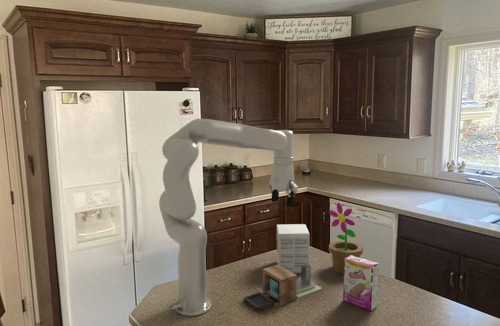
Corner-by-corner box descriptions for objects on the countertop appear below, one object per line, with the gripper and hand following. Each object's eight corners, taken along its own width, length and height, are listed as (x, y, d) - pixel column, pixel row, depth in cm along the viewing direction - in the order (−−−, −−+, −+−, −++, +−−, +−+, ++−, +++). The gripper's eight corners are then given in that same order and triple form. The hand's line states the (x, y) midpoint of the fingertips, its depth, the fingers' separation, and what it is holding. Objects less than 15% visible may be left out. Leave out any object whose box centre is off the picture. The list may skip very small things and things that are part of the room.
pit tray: (257, 311, 139) (257, 307, 138) (243, 301, 146) (243, 297, 146) (273, 305, 142) (273, 301, 142) (259, 295, 150) (259, 292, 150)
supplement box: (276, 261, 182) (276, 224, 180) (305, 260, 182) (305, 223, 179) (278, 273, 169) (278, 233, 166) (309, 273, 169) (310, 233, 166)
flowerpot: (321, 269, 172) (322, 201, 168) (339, 260, 182) (340, 195, 178) (351, 279, 162) (353, 207, 158) (368, 268, 173) (370, 200, 168)
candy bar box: (342, 301, 145) (343, 258, 142) (349, 296, 148) (350, 254, 146) (371, 312, 137) (372, 266, 135) (377, 306, 141) (379, 262, 138)
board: (298, 297, 148) (298, 296, 148) (281, 287, 156) (281, 286, 156) (322, 289, 154) (322, 288, 154) (305, 279, 163) (305, 278, 163)
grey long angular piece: (276, 300, 145) (276, 279, 144) (267, 293, 150) (266, 273, 149) (315, 286, 155) (316, 266, 154) (305, 280, 160) (305, 261, 159)
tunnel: (281, 305, 143) (281, 279, 141) (263, 292, 152) (262, 268, 151) (296, 299, 147) (296, 274, 145) (277, 287, 156) (277, 264, 154)
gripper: (262, 159, 163) (262, 200, 165) (289, 164, 148) (288, 209, 151) (277, 158, 167) (276, 198, 169) (304, 163, 153) (303, 207, 155)
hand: (282, 203), depth 160 cm, fingers open, 9 cm apart
